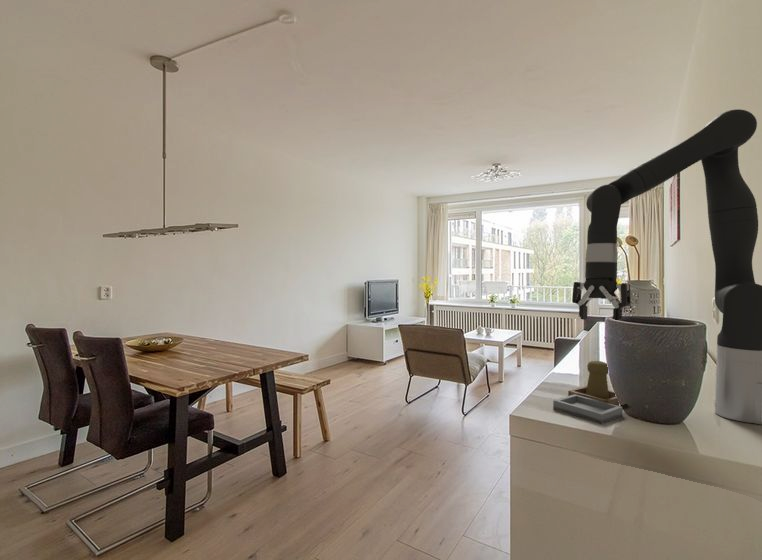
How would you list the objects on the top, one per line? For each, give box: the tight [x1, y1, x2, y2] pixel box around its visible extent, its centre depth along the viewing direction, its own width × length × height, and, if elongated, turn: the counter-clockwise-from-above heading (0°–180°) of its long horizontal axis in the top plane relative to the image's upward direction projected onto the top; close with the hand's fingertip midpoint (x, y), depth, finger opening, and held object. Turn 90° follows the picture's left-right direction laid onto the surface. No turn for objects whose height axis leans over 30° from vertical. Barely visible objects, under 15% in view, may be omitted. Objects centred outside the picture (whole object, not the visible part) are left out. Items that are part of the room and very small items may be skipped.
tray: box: [553, 394, 623, 425], centre depth 99 cm, size 12×10×2 cm
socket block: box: [567, 385, 619, 406], centre depth 107 cm, size 10×10×2 cm
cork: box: [586, 360, 609, 400], centre depth 107 cm, size 6×6×11 cm
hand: (599, 320), depth 107 cm, fingers open, 8 cm apart
